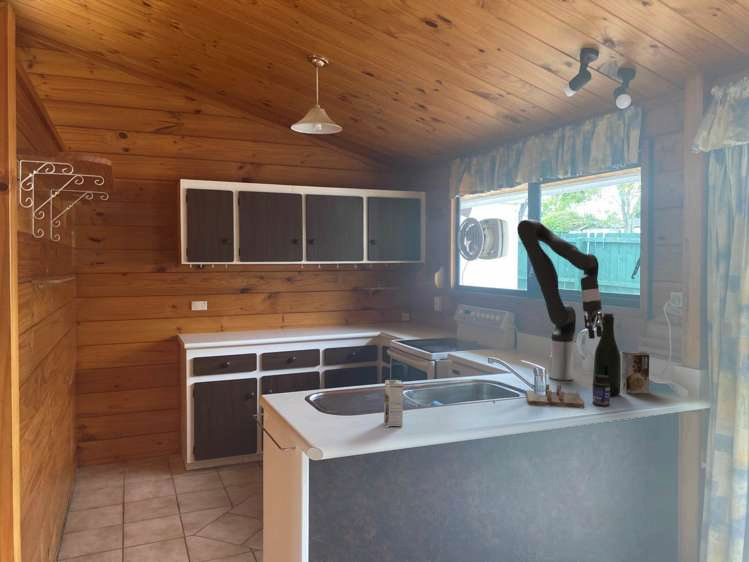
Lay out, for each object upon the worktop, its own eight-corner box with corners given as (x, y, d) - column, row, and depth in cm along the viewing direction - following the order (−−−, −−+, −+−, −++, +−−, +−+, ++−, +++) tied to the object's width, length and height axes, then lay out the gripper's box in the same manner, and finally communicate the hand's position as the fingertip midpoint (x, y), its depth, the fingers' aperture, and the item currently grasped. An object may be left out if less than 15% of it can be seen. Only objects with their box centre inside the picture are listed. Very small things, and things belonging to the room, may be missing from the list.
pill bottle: (607, 407, 219) (608, 378, 218) (590, 405, 222) (591, 376, 221) (611, 404, 224) (612, 375, 223) (594, 401, 227) (595, 373, 227)
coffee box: (643, 390, 246) (644, 351, 245) (648, 393, 240) (650, 354, 239) (620, 389, 247) (621, 351, 246) (625, 393, 241) (626, 354, 240)
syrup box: (383, 422, 199) (383, 379, 198) (401, 422, 199) (401, 379, 198) (385, 427, 193) (385, 383, 192) (403, 427, 194) (403, 383, 193)
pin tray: (528, 404, 223) (528, 391, 222) (526, 394, 238) (526, 381, 238) (584, 407, 219) (584, 394, 218) (578, 397, 234) (578, 384, 234)
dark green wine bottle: (623, 393, 240) (625, 312, 238) (616, 398, 232) (619, 315, 230) (596, 389, 246) (598, 311, 244) (589, 394, 238) (591, 313, 236)
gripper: (589, 300, 262) (593, 336, 261) (576, 301, 252) (580, 339, 251) (606, 298, 257) (610, 335, 256) (593, 299, 247) (598, 338, 246)
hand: (596, 337), depth 254 cm, fingers open, 8 cm apart
